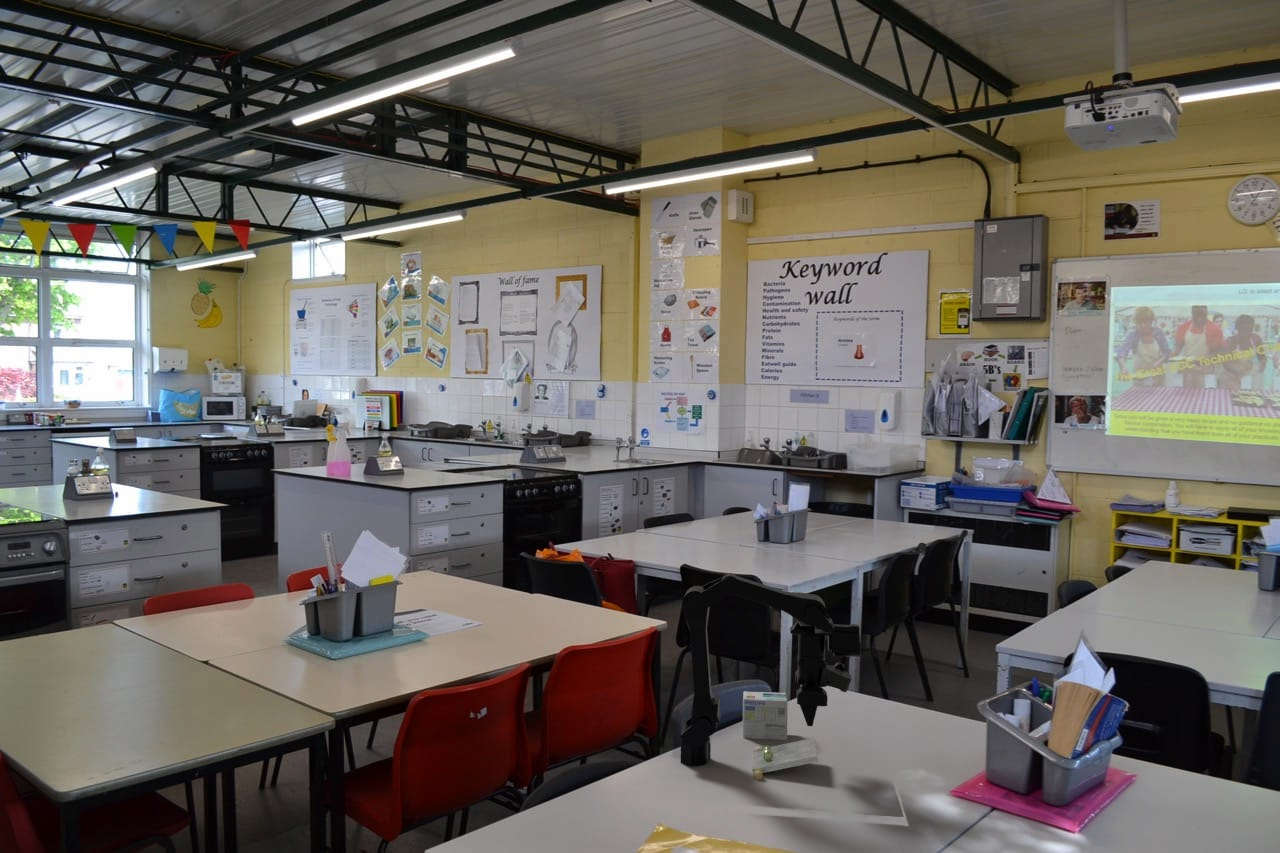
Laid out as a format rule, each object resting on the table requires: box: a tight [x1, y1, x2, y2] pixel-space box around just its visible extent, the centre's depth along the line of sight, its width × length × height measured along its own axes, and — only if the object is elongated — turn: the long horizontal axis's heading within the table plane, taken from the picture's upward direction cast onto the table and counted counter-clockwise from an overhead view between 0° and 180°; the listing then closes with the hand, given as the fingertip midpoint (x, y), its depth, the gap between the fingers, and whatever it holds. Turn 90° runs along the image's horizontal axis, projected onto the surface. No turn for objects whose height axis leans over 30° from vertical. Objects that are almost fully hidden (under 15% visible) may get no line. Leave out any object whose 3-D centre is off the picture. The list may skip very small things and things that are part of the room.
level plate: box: [751, 737, 819, 776], centre depth 199 cm, size 14×11×3 cm
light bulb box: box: [742, 690, 788, 741], centre depth 219 cm, size 11×7×11 cm, turn 84°
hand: (809, 725), depth 198 cm, fingers closed
